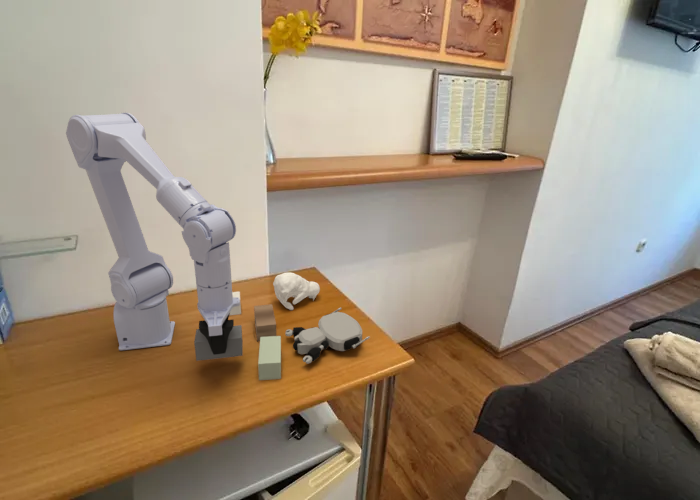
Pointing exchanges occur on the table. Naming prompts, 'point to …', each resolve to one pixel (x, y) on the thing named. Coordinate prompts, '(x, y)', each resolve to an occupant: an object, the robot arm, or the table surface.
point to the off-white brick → (236, 309)
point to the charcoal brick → (232, 349)
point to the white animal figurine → (294, 288)
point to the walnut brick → (264, 321)
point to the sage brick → (270, 358)
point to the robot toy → (327, 335)
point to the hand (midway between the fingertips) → (219, 344)
